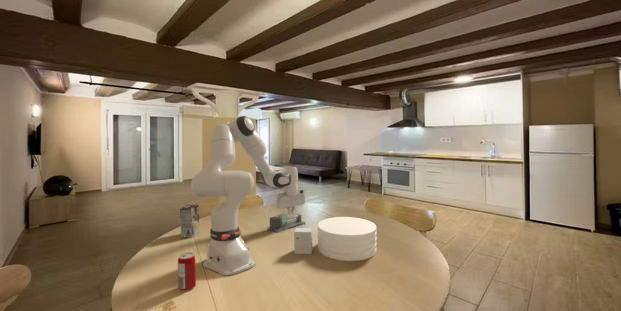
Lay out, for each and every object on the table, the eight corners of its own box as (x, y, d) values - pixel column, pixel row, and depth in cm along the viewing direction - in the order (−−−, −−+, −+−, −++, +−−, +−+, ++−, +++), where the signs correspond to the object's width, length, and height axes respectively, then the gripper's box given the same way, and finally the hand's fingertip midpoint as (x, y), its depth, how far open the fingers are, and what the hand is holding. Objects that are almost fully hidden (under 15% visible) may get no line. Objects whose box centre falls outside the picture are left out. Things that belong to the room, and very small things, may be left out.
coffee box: (188, 232, 151) (188, 204, 150) (199, 232, 151) (199, 204, 150) (180, 237, 142) (179, 208, 141) (192, 237, 142) (191, 208, 141)
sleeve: (287, 223, 158) (287, 214, 158) (282, 225, 155) (282, 215, 155) (282, 222, 161) (282, 213, 161) (277, 223, 158) (277, 214, 158)
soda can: (198, 283, 96) (197, 251, 95) (192, 291, 90) (191, 257, 90) (182, 283, 96) (181, 251, 95) (175, 292, 90) (174, 258, 89)
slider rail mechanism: (305, 223, 165) (305, 212, 165) (276, 232, 150) (276, 220, 149) (296, 220, 171) (295, 210, 171) (267, 228, 156) (267, 217, 156)
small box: (312, 249, 125) (312, 228, 125) (311, 254, 120) (311, 232, 119) (296, 249, 126) (295, 227, 126) (294, 254, 121) (293, 231, 120)
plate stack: (377, 263, 111) (378, 237, 110) (312, 258, 116) (312, 232, 116) (375, 239, 138) (375, 218, 138) (322, 236, 144) (322, 215, 143)
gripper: (280, 194, 152) (280, 218, 153) (306, 190, 166) (306, 211, 167) (274, 193, 157) (274, 215, 157) (299, 188, 171) (300, 210, 171)
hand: (291, 213), depth 162 cm, fingers closed
